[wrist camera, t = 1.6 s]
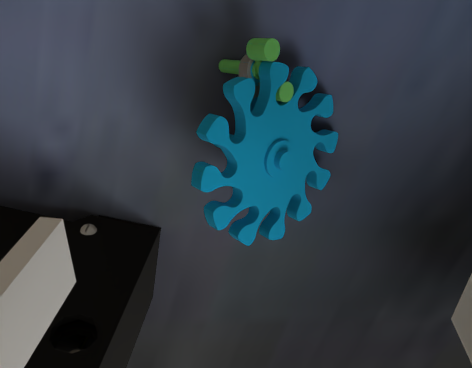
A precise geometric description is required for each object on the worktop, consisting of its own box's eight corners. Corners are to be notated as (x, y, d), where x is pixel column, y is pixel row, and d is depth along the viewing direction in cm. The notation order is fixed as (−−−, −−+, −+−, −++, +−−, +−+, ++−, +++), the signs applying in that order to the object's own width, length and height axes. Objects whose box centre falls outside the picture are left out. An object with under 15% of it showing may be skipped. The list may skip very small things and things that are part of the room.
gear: (339, 218, 26) (213, 278, 20) (275, 191, 30) (155, 234, 24) (354, 34, 22) (200, 43, 16) (277, 33, 26) (134, 40, 20)
